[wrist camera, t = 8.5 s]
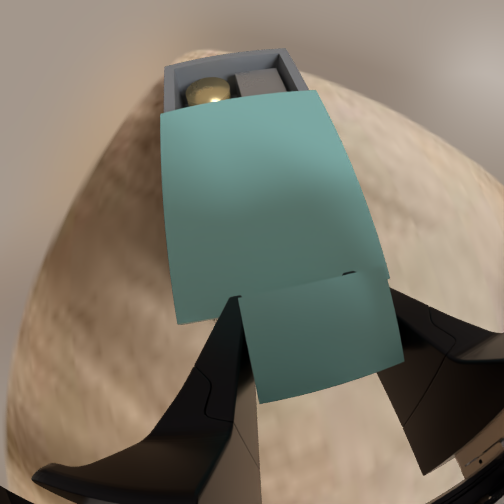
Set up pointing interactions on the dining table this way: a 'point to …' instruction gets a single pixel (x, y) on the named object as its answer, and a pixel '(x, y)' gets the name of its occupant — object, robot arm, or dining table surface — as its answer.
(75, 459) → the dining table surface
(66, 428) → the dining table surface
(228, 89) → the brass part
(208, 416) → the robot arm
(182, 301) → the teal stepped block
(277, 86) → the steel part
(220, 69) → the grey box
